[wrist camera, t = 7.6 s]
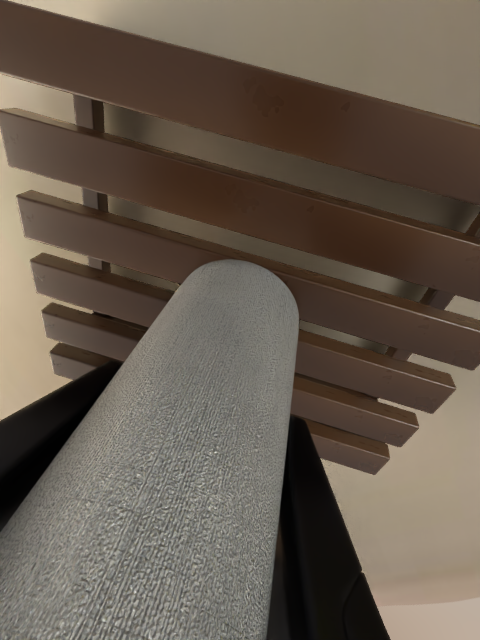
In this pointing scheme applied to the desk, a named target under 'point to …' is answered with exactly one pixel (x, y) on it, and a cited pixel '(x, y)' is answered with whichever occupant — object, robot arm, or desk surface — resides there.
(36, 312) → the desk surface
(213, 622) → the grey hollow cylinder
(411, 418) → the rack
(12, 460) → the robot arm
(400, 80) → the desk surface
